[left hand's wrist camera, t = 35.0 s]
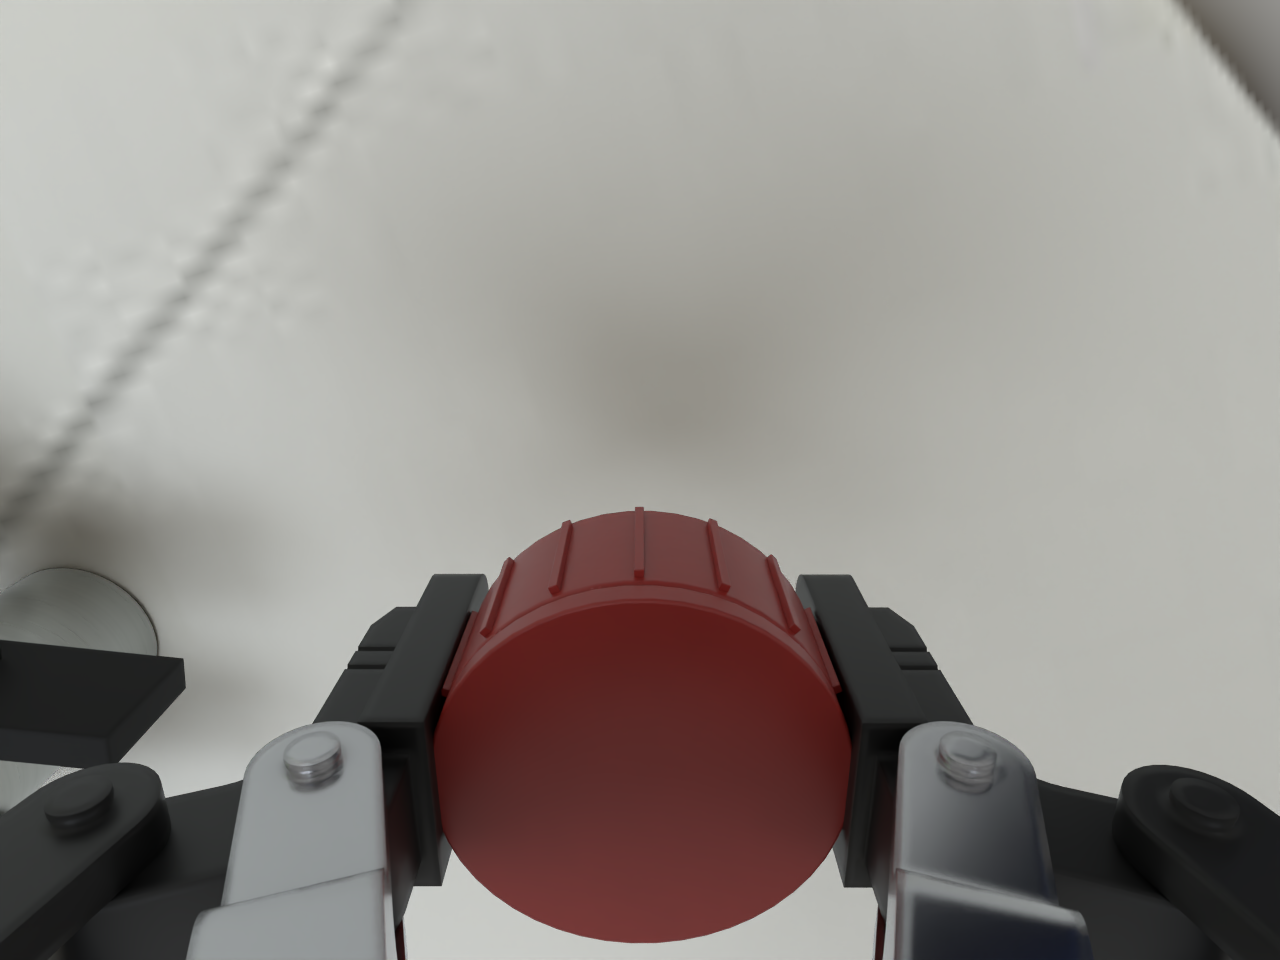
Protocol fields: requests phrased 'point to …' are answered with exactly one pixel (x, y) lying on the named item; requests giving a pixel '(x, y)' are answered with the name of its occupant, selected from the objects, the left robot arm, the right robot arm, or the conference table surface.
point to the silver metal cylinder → (66, 639)
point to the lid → (642, 732)
